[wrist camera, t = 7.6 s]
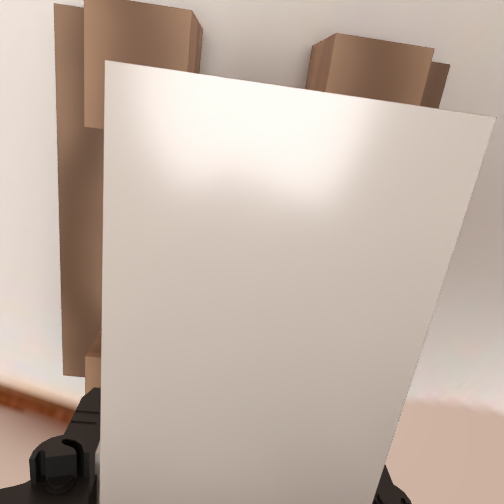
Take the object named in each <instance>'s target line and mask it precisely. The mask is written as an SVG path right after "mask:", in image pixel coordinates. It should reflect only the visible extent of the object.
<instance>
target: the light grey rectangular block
mask: <svg viewBox="0 0 504 504" xmlns="http://www.w3.org/2000/svg"><path fill="white" fill-rule="evenodd" d="M496 118H497V117H490V116H484V115H477V114H470V113H463V112H456V111H449V110H443V109H436V108H429V107H422V106H415V105H408V104H402V103H395V102H388V101H381V100H374V99H367V98H360V97H354V96H347V95H340V94H333V93H326V92H319V91H313V90H306V89H299V88H292V87H285V86H278V85H272V84H265V83H258V82H251V81H244V80H237V79H231V78H224V77H217V76H210V75H203V74H196V73H190V72H183V71H176V70H169V69H162V68H155V67H149V66H142V65H135V64H128V63H121V62H114V61H107V60H105V101H104V182H103V262H102V342H101V423H100V503H99V504H372V502H373V499H374V496H375V493H376V490H377V487H378V483H379V480H380V477H381V474H382V471H383V468H384V465H385V462H386V459H387V456H388V452H389V449H390V446H391V443H392V440H393V437H394V434H395V431H396V428H397V425H398V422H399V418H400V415H401V412H402V409H403V406H404V403H405V400H406V397H407V394H408V391H409V387H410V384H411V381H412V378H413V375H414V372H415V369H416V366H417V363H418V360H419V356H420V353H421V350H422V347H423V344H424V341H425V338H426V335H427V332H428V329H429V325H430V322H431V319H432V316H433V313H434V310H435V307H436V304H437V301H438V298H439V294H440V291H441V288H442V285H443V282H444V279H445V276H446V273H447V270H448V267H449V263H450V260H451V257H452V254H453V251H454V248H455V245H456V242H457V239H458V236H459V233H460V229H461V226H462V223H463V220H464V217H465V214H466V211H467V208H468V205H469V202H470V198H471V195H472V192H473V189H474V186H475V183H476V180H477V177H478V174H479V171H480V167H481V164H482V161H483V158H484V155H485V152H486V149H487V146H488V143H489V140H490V136H491V133H492V130H493V127H494V124H495V121H496Z"/></svg>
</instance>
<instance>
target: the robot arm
mask: <svg viewBox="0 0 504 504" xmlns="http://www.w3.org/2000/svg"><path fill="white" fill-rule="evenodd" d="M100 423H101V388H97V387H94V388H93V389H91V390H90V391H89V392H88V393H87V394H86V395H84V396H83V397H82V399H81V401H80V403H79V405H78V407H77V409H76V412H75V413H74V415H73V417H72V419H71V422H70V423H69V425H68V427H67V429H66V431H65V433H64V435H61V436H57V437H52V438H50V439H48V440H46V441H44V442H43V443H41V444H40V445H39V446H38V447H37V448H36V449H35V450H34V451H33V453H32V455H31V457H30V459H29V464H30V478H31V480H30V481H28V482H26V483H23V484H20V485H17V486H13V487H8V488H3V489H0V504H99V503H100ZM372 504H411V501H410V500H409V498H408V497H407V495H406V494H405V493H404V492H403V491H402V490H400V489H399V488H398V487H397V486H395V485H393V483H392V480H391V478H390V475H389V473H388V470H387V468H386V465H384V468H383V471H382V474H381V477H380V480H379V483H378V487H377V490H376V493H375V496H374V499H373V502H372Z"/></svg>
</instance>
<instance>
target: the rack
mask: <svg viewBox="0 0 504 504" xmlns="http://www.w3.org/2000/svg"><path fill="white" fill-rule="evenodd" d="M54 32H55V71H56V111H57V151H58V190H59V230H60V270H61V309H62V349H63V375H65V376H77V377H85V395H86V394H87V393H88V392H89V391H90V390H91V389H93V388H94V387H97V388H101V342H102V262H103V182H104V101H105V60H107V61H114V62H121V63H128V64H135V65H142V66H149V67H155V68H162V69H169V70H176V71H183V72H190V73H196V74H199V69H200V57H201V45H202V33H203V29H202V27H201V25H200V24H199V22H198V20H197V18H196V17H195V15H194V13H193V11H192V10H186V9H180V8H174V7H167V6H161V5H155V4H148V3H142V2H135V1H129V0H84V8H81V7H74V6H68V5H61V4H55V3H54ZM433 53H434V48H428V47H422V46H415V45H409V44H403V43H396V42H390V41H383V40H377V39H371V38H364V37H358V36H352V35H345V34H339V33H335V34H334V35H332V36H330V37H328V38H326V39H325V40H323V41H321V42H319V43H317V44H315V45H314V46H312V52H311V58H310V64H309V70H308V76H307V82H306V88H305V89H306V90H313V91H319V92H326V93H333V94H340V95H347V96H354V97H360V98H367V99H374V100H381V101H388V102H395V103H402V104H408V105H415V106H422V107H429V108H436V109H438V108H439V104H440V101H441V97H442V93H443V90H444V86H445V82H446V79H447V75H448V71H449V68H450V64H443V63H437V62H431V61H432V57H433Z"/></svg>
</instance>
